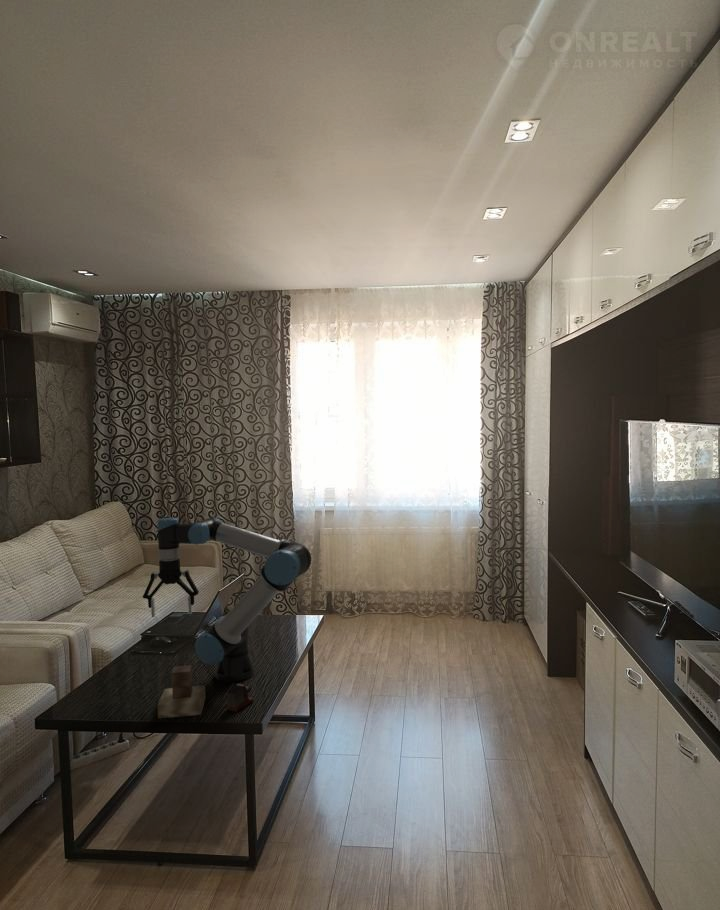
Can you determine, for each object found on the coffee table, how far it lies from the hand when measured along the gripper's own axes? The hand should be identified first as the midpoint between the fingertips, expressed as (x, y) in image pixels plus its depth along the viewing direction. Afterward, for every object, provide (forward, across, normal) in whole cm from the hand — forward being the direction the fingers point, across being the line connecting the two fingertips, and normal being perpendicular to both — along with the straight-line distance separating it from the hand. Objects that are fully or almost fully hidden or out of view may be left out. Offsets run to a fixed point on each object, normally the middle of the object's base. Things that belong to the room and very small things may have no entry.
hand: (172, 614), depth 243 cm
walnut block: (+22, -6, +22) cm, 32 cm away
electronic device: (+27, -26, +25) cm, 45 cm away
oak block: (+27, -6, +22) cm, 36 cm away
